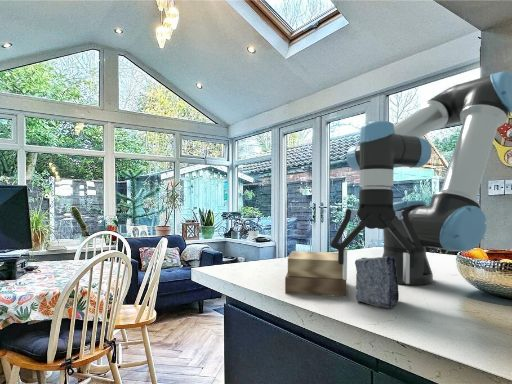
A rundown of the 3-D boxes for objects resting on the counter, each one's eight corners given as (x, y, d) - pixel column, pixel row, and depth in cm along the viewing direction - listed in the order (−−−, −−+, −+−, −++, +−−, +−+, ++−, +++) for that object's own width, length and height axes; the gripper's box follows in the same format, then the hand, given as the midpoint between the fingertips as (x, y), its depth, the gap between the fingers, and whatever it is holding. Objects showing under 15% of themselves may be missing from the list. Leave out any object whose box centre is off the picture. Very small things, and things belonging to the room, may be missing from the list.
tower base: (342, 284, 99) (342, 268, 100) (346, 298, 85) (346, 280, 85) (290, 281, 102) (290, 266, 102) (285, 295, 87) (285, 277, 87)
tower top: (340, 268, 100) (340, 252, 100) (344, 279, 86) (344, 260, 86) (291, 266, 102) (291, 250, 102) (287, 276, 88) (287, 258, 89)
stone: (408, 310, 80) (398, 307, 72) (365, 311, 85) (351, 308, 77) (401, 258, 84) (390, 250, 76) (360, 262, 89) (347, 255, 82)
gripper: (428, 190, 82) (427, 280, 82) (321, 188, 87) (320, 273, 86) (439, 188, 75) (438, 287, 74) (321, 187, 79) (320, 280, 79)
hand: (374, 280), depth 80 cm, fingers open, 13 cm apart
